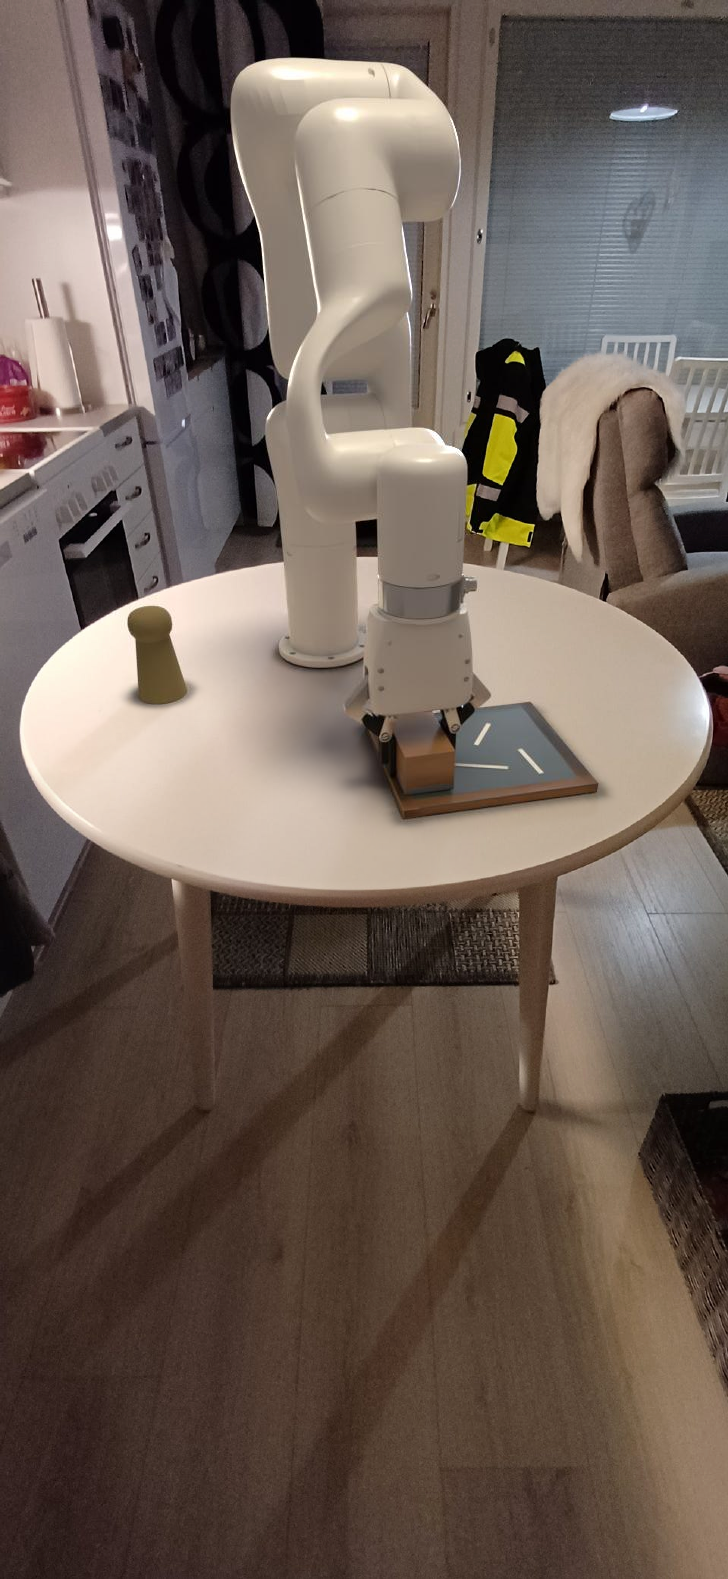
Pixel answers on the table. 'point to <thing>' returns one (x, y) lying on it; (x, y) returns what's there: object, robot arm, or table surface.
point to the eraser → (423, 754)
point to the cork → (155, 656)
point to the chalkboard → (500, 764)
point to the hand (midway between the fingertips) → (416, 763)
